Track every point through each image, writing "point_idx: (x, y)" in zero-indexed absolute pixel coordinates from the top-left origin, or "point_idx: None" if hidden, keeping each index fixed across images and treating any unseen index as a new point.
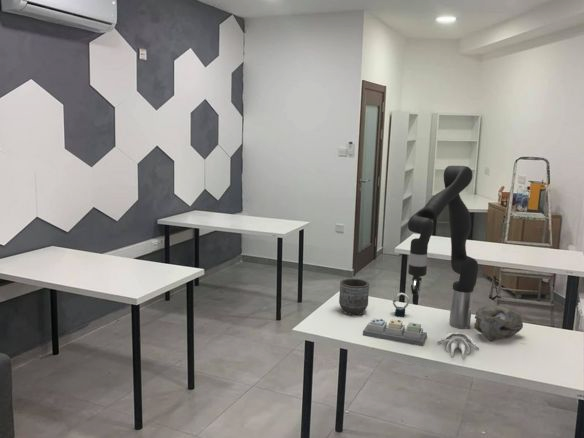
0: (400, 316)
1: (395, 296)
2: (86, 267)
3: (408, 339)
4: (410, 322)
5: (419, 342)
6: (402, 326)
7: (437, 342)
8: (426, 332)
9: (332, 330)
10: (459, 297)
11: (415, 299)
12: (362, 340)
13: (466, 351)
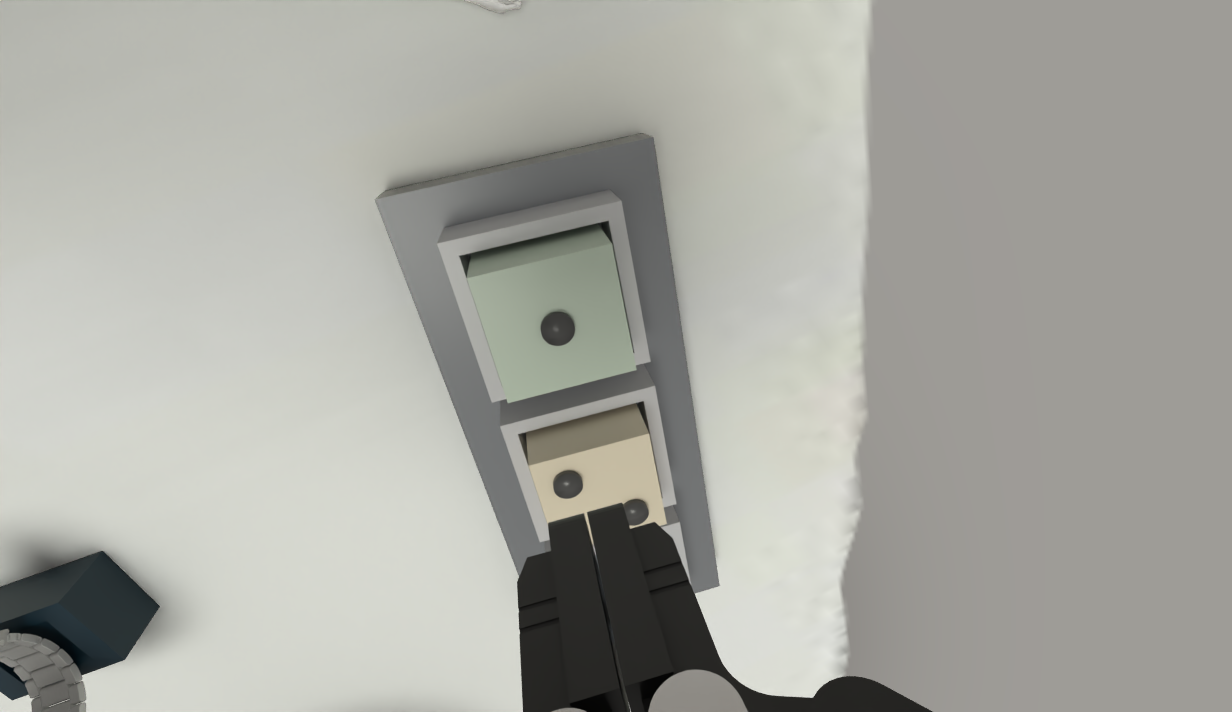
0: (123, 577)
1: None
2: None
3: (674, 281)
4: (509, 391)
5: (655, 174)
6: (554, 423)
7: (517, 2)
8: (380, 205)
9: (743, 683)
10: None
11: (688, 586)
12: (791, 520)
13: None
